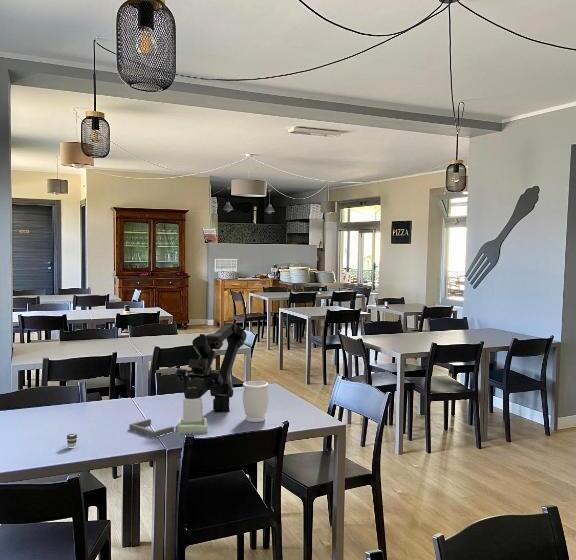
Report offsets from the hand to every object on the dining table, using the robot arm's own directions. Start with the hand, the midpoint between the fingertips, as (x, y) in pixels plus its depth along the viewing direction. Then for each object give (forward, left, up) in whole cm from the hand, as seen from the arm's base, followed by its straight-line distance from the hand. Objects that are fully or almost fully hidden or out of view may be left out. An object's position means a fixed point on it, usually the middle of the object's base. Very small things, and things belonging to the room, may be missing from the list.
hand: (192, 395), depth 219 cm
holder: (+15, 0, -13) cm, 20 cm away
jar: (-26, -9, -13) cm, 30 cm away
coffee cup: (+41, +15, -14) cm, 46 cm away
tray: (0, 0, -13) cm, 13 cm away
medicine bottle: (0, 0, -9) cm, 9 cm away
